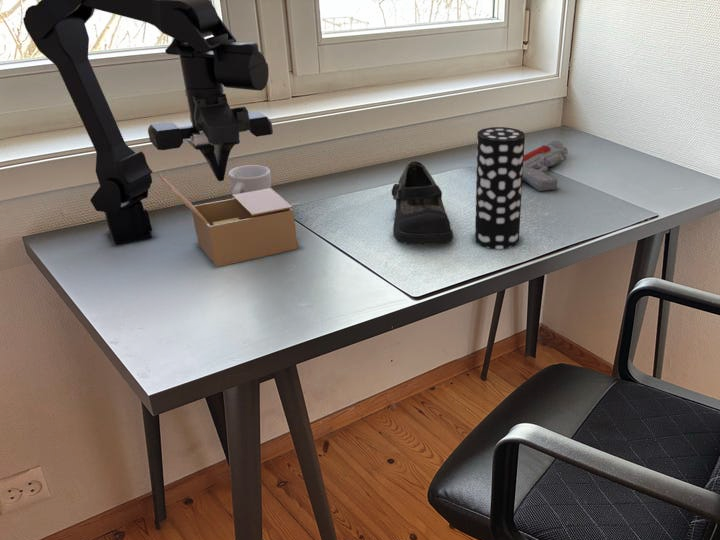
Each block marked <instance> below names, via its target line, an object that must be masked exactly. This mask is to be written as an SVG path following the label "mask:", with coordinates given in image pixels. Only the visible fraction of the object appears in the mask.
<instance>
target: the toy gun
mask: <svg viewBox="0 0 720 540" xmlns="http://www.w3.org/2000/svg"><path fill="white" fill-rule="evenodd" d="M567 154H569V151H568V148H567V147H566V146H563V142H561V141H557V140H553V141H551V142H549V143H547V144H543V145H541V146H540V147H537V148H535V149H533V150H531V151H529V152H527V153H524V160H523V177H522V181H523V182H524V181H525V182H526V183H527V184H528V185H530V186H531V187H532V188H533V189H535V190H537V191H539V192H546V191H555V190H556V189H557V188H558V182H559V181H558V179H557V178H554V177H552V176H550V175H548V174H546V173H547V172H548V169H549V168H550V167H552V166H555V165H556V164H558V163H560V162H562V161H564V160H566V158H565V157H564V155H567Z"/></svg>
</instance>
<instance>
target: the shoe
mask: <svg viewBox="0 0 720 540" xmlns="http://www.w3.org/2000/svg"><path fill="white" fill-rule="evenodd" d="M391 196H392V199H393V200H394V201H395V214H394V221H393V225H392V235H393V237H394V238H395V240H396V241H397V242H400V243H402V244H407V245H434V244H435V245H441V244H448V243H451V242H452V241H453V239H454V233H453V230H452V228H451V222H450V219H449V217H448V215H447V212H446V209H445V206H444V201H443V199H442V198H443V197H442V196H443V192H442V189H441V188H440V187H439V186H438V184H437V183H436V181H435V180H434V178H433V176H432V175H431V174H430V172H429V171H428V169H427V167H426V166H425V165H424V164H422V162H420V161H411V162H409V163H408V164H407V165H406V166H405V168H404V170H403V172H402V174H401V176H400V177H399V180H398V183H394V184H393V186H392V188H391Z"/></svg>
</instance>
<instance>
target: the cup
mask: <svg viewBox="0 0 720 540" xmlns="http://www.w3.org/2000/svg"><path fill="white" fill-rule="evenodd" d="M227 175H228V179H229V183H230V187H231V190H232V194H231V196H232V195H235V194H240V193H246V192H251V191H257V190H263V189H268V188H271V189H272V181H271V180H272V179H271V178H272V177H271V170H270V168H269V167H266V166H264V165H257V164H247V165H241V166H236V167H234V168H232V169H230V170H229V171H228V173H227ZM233 198H234V197H233V196H232V199H233Z"/></svg>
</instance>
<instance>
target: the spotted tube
mask: <svg viewBox="0 0 720 540" xmlns="http://www.w3.org/2000/svg"><path fill="white" fill-rule="evenodd" d="M525 141H526V133H525V132H524V131H522V130H520V129H517V128H513V127H505V126H491V127H486V128H482V129H479V130H478V131H477V134H476V181H475V222H474V223H475V224H474V225H475V227H474V229H475V230H474V242H475V243H476V244H478V245H479V246H481V247H483V248H487V249H492V250H493V249H494V250H504V249H509V248H513V247H515V246H517V245H518V244H519V242H520V229H521V211H522V195H523V194H522V193H523V180H522V177H523V160H524V155H525Z"/></svg>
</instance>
